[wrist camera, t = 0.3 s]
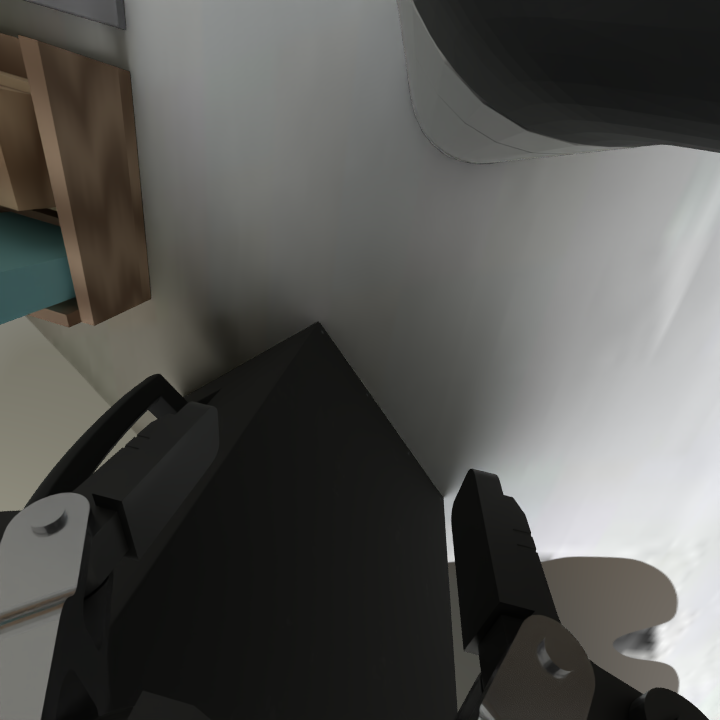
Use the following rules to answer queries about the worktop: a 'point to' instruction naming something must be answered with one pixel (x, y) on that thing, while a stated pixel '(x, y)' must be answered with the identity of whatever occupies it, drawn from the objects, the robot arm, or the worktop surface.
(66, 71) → the walnut rack
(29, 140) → the upper offcut
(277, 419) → the coffee maker
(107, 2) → the charcoal mat
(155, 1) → the worktop surface
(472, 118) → the robot arm
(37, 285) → the teal board
